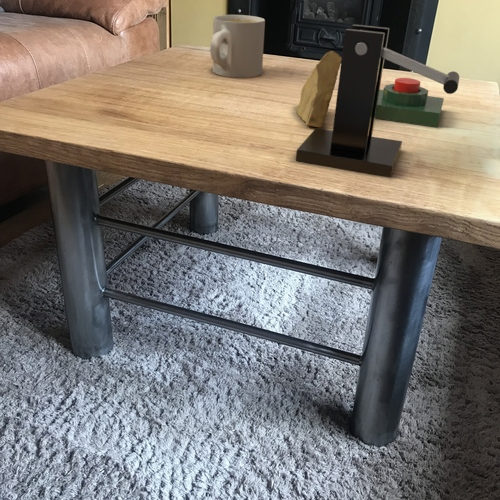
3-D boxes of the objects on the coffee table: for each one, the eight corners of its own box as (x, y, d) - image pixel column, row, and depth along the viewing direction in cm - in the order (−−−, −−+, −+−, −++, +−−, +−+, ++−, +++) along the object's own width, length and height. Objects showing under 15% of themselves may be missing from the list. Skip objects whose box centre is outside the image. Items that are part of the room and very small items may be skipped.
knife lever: (453, 89, 68) (463, 71, 67) (451, 99, 64) (462, 79, 63) (354, 46, 70) (362, 27, 68) (346, 53, 66) (355, 33, 64)
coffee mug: (237, 64, 119) (239, 13, 114) (272, 73, 113) (275, 20, 108) (189, 72, 110) (189, 18, 105) (224, 82, 105) (225, 25, 100)
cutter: (400, 151, 76) (423, 28, 68) (390, 177, 68) (415, 40, 60) (314, 137, 80) (327, 18, 72) (295, 160, 71) (307, 29, 63)
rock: (338, 119, 80) (364, 95, 87) (307, 66, 78) (336, 46, 85) (284, 148, 87) (312, 124, 94) (254, 100, 86) (285, 79, 92)
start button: (419, 90, 92) (421, 79, 91) (417, 96, 89) (419, 85, 88) (394, 87, 93) (396, 76, 92) (391, 92, 90) (393, 81, 89)
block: (441, 110, 95) (446, 87, 93) (437, 127, 87) (442, 101, 85) (370, 101, 98) (374, 78, 96) (360, 116, 90) (364, 91, 88)
